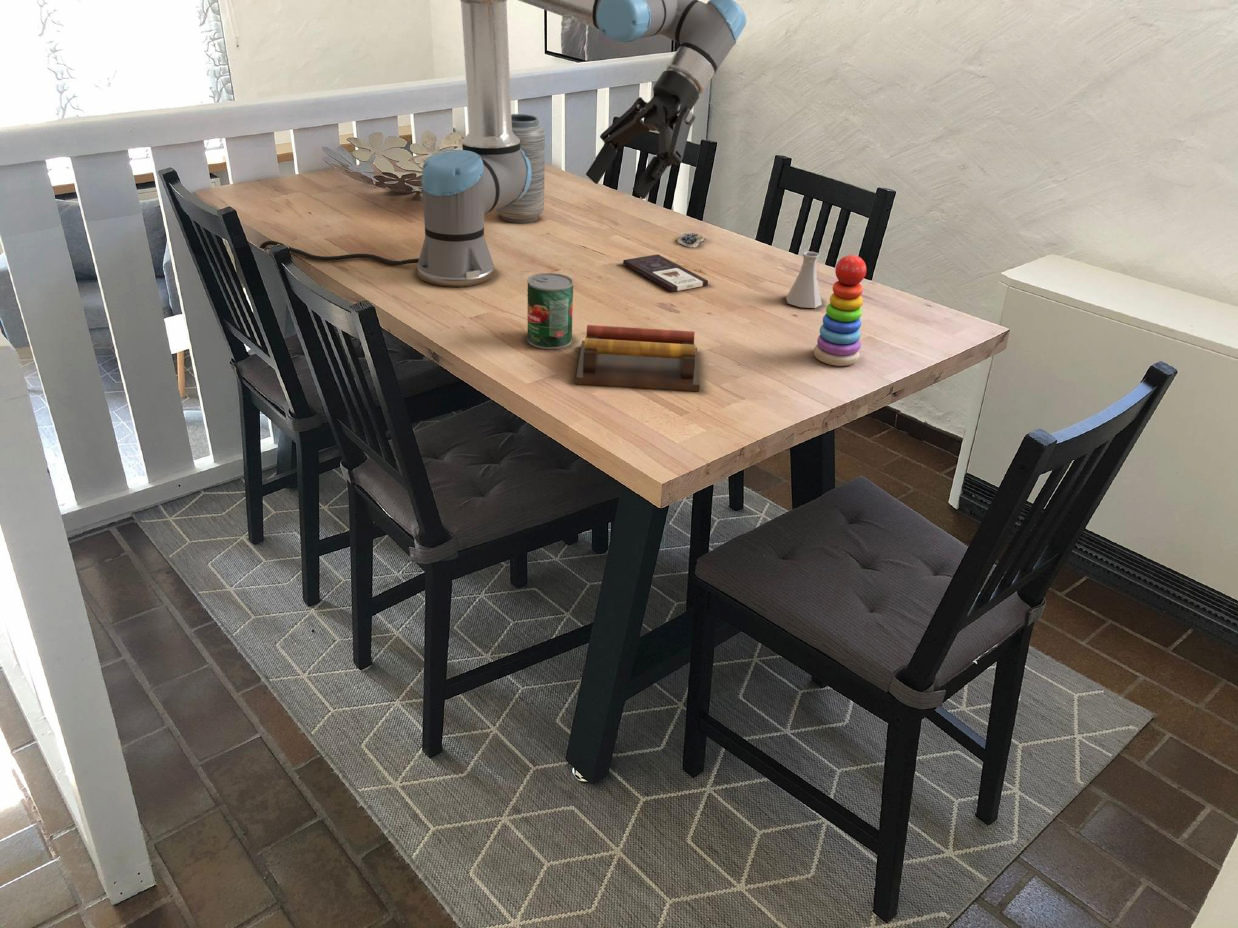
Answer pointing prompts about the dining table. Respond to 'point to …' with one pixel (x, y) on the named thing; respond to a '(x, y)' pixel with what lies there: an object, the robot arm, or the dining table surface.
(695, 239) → the blueberries
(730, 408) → the dining table surface
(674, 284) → the chocolate bar
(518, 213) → the vase
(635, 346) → the rod stand
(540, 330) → the canned tomato
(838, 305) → the stacking toy
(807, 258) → the flask
